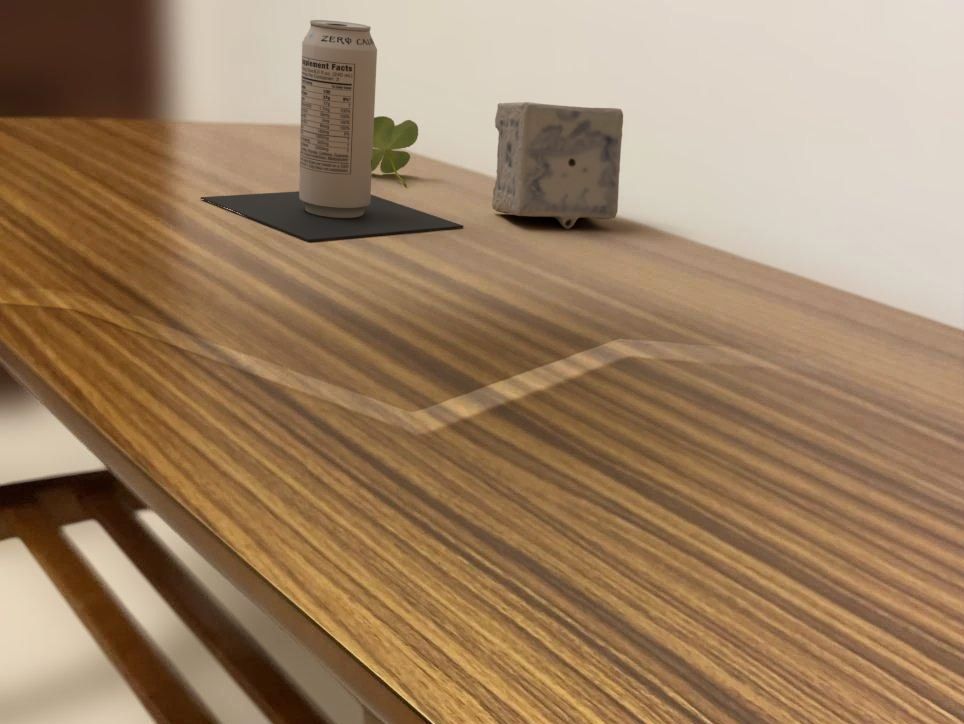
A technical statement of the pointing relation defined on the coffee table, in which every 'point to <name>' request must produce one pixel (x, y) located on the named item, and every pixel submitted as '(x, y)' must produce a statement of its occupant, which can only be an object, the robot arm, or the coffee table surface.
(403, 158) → the green leafy sprig
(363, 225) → the mat
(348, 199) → the energy drink can
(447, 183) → the coffee table surface
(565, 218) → the incense holder
